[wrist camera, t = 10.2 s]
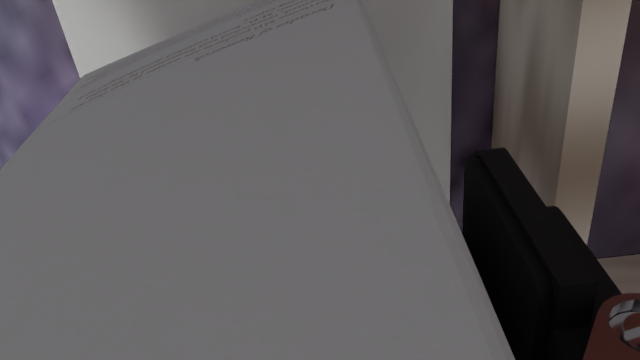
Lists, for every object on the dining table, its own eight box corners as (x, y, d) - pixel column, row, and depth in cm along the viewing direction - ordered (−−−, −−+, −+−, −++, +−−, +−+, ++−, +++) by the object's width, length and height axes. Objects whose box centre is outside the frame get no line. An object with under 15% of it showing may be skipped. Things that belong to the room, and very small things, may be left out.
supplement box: (73, 71, 14) (-764, 914, 3) (351, -47, 12) (714, 629, 2) (210, 277, 17) (73, 986, 7) (435, 200, 16) (721, 914, 5)
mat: (446, 224, 20) (449, 232, 20) (151, 257, 20) (148, 266, 20) (450, -114, 14) (454, -112, 14) (38, -61, 15) (31, -58, 14)
